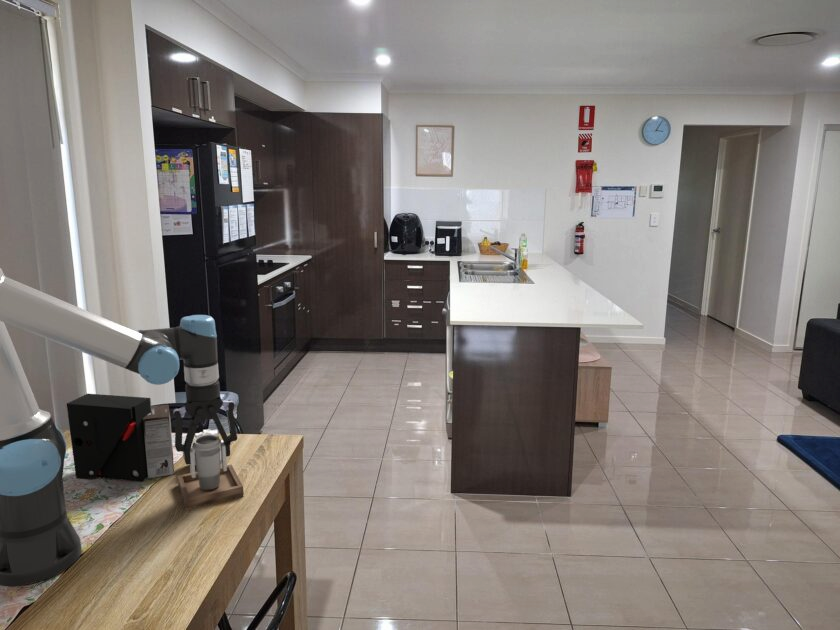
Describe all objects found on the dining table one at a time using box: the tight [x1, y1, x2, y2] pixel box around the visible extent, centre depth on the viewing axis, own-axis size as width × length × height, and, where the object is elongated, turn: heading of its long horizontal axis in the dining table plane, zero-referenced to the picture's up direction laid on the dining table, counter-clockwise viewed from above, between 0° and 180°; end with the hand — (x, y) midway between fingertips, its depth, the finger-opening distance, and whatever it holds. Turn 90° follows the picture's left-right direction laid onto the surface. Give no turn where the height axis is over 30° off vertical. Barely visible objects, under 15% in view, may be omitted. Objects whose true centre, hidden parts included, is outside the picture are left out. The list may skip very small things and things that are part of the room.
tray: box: [177, 464, 245, 510], centre depth 145 cm, size 13×13×2 cm
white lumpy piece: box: [182, 428, 223, 466], centre depth 158 cm, size 12×8×11 cm
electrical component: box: [66, 393, 152, 483], centre depth 152 cm, size 18×10×20 cm, turn 80°
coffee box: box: [143, 404, 175, 479], centre depth 154 cm, size 9×6×16 cm
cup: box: [191, 434, 222, 490], centre depth 144 cm, size 7×7×12 cm
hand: (208, 471), depth 144 cm, fingers closed on cup, 6 cm apart
